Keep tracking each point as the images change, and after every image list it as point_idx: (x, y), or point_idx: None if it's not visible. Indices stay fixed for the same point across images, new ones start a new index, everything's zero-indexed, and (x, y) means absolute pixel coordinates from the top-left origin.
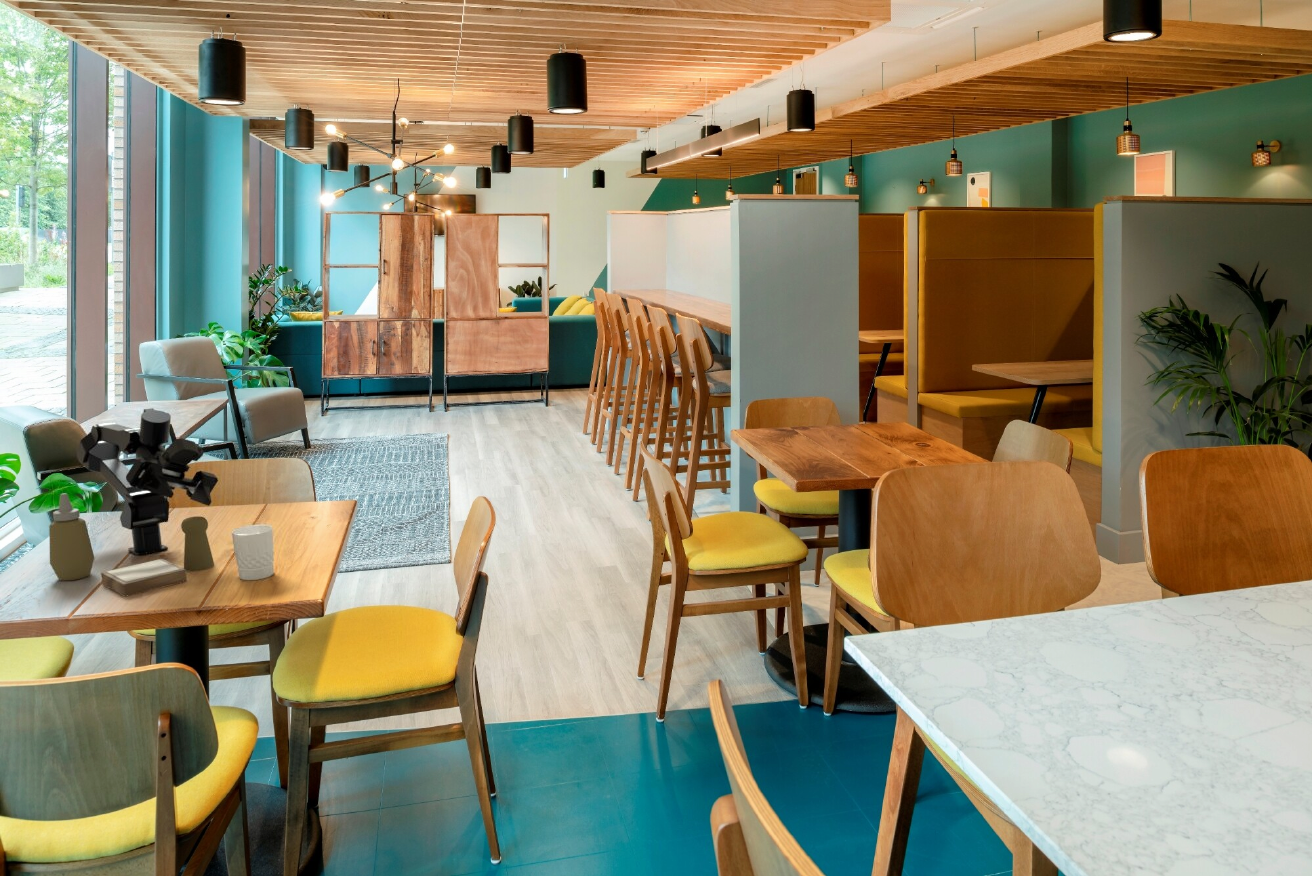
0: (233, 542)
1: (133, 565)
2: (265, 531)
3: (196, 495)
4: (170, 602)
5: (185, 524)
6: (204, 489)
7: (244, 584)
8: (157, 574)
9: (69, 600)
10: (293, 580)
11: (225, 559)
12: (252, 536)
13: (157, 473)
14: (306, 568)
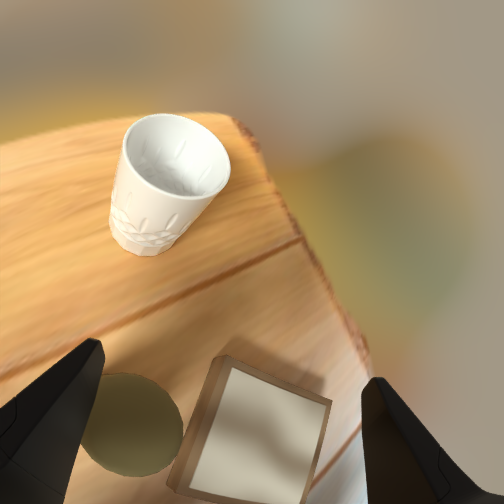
0: (206, 206)
1: (249, 500)
2: (190, 119)
3: (48, 498)
4: (305, 298)
5: (182, 429)
6: (31, 432)
7: (197, 222)
8: (277, 387)
9: (350, 468)
10: None
11: None
12: (216, 143)
13: (484, 497)
14: (92, 152)
